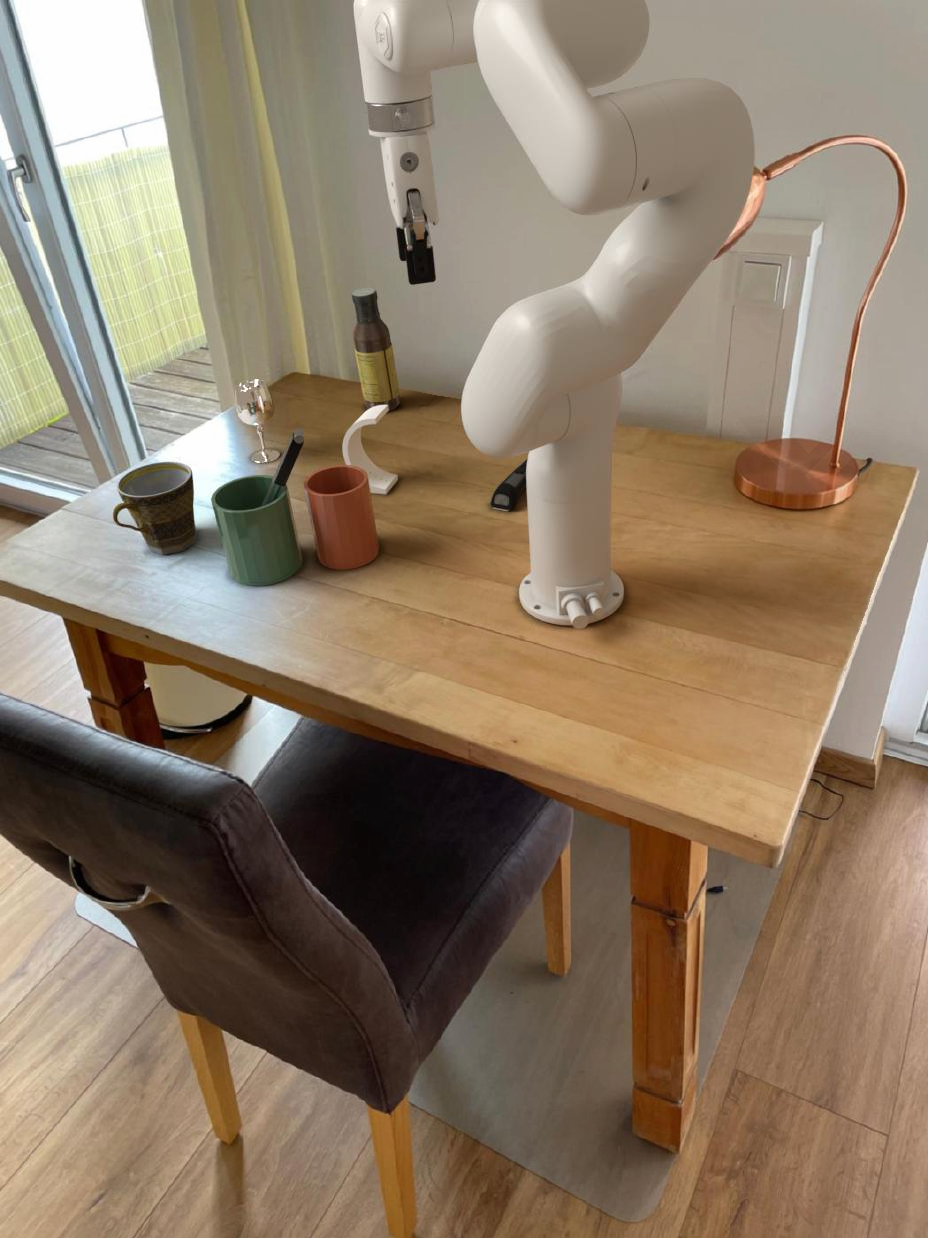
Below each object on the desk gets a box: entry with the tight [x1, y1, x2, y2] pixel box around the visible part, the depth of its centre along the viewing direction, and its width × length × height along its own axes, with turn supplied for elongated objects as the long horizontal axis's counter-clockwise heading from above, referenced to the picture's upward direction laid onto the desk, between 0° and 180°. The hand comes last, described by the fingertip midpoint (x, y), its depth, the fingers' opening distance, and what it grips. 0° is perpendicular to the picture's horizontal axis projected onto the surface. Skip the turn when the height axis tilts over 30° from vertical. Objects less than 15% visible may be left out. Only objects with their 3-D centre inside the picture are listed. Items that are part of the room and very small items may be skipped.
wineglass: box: [234, 379, 281, 464], centre depth 156 cm, size 6×6×12 cm
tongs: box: [261, 427, 305, 507], centre depth 128 cm, size 2×10×18 cm, turn 100°
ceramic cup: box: [112, 461, 197, 556], centre depth 136 cm, size 13×10×10 cm
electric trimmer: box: [490, 457, 528, 512], centre depth 145 cm, size 4×16×3 cm, turn 153°
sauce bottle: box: [351, 287, 401, 412], centre depth 166 cm, size 6×6×20 cm
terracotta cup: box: [303, 464, 380, 571], centre depth 131 cm, size 8×8×11 cm
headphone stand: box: [341, 405, 399, 495], centre depth 146 cm, size 5×6×12 cm
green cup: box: [210, 474, 303, 587], centre depth 130 cm, size 10×10×11 cm
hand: (417, 270), depth 122 cm, fingers open, 9 cm apart
